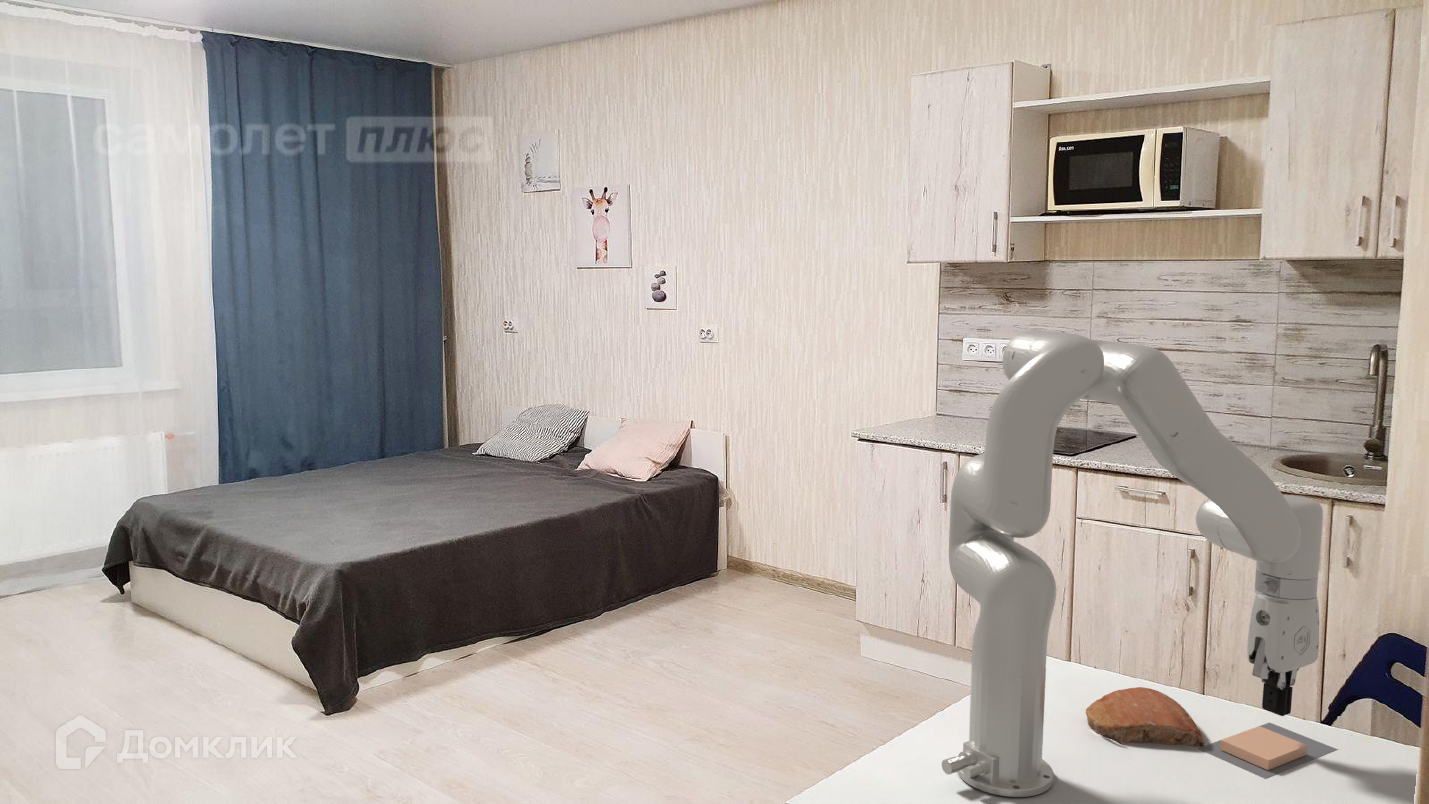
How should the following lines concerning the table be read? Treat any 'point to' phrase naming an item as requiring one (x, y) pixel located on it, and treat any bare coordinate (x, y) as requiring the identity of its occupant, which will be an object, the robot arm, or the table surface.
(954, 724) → the table surface
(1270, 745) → the tile
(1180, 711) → the ceramic shard
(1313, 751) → the mat
